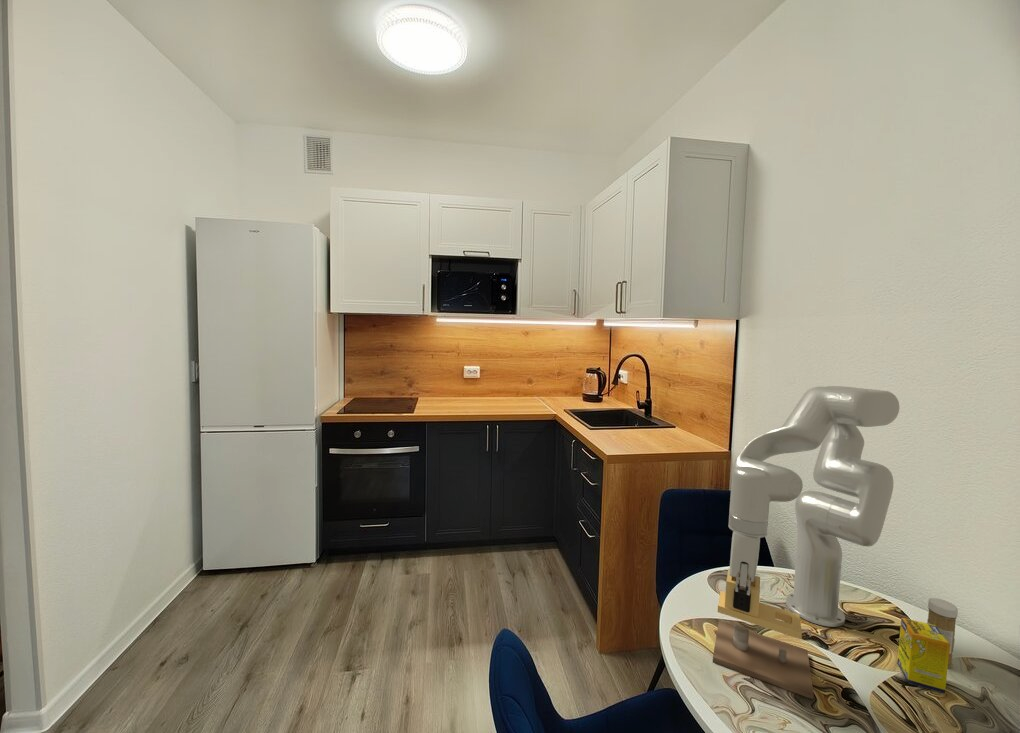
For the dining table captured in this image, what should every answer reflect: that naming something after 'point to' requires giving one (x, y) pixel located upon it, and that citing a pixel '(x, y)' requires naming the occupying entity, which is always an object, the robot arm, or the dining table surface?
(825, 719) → the dining table surface
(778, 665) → the base
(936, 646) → the supplement box
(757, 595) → the tan stepped holder block
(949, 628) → the sprinkles bottle
